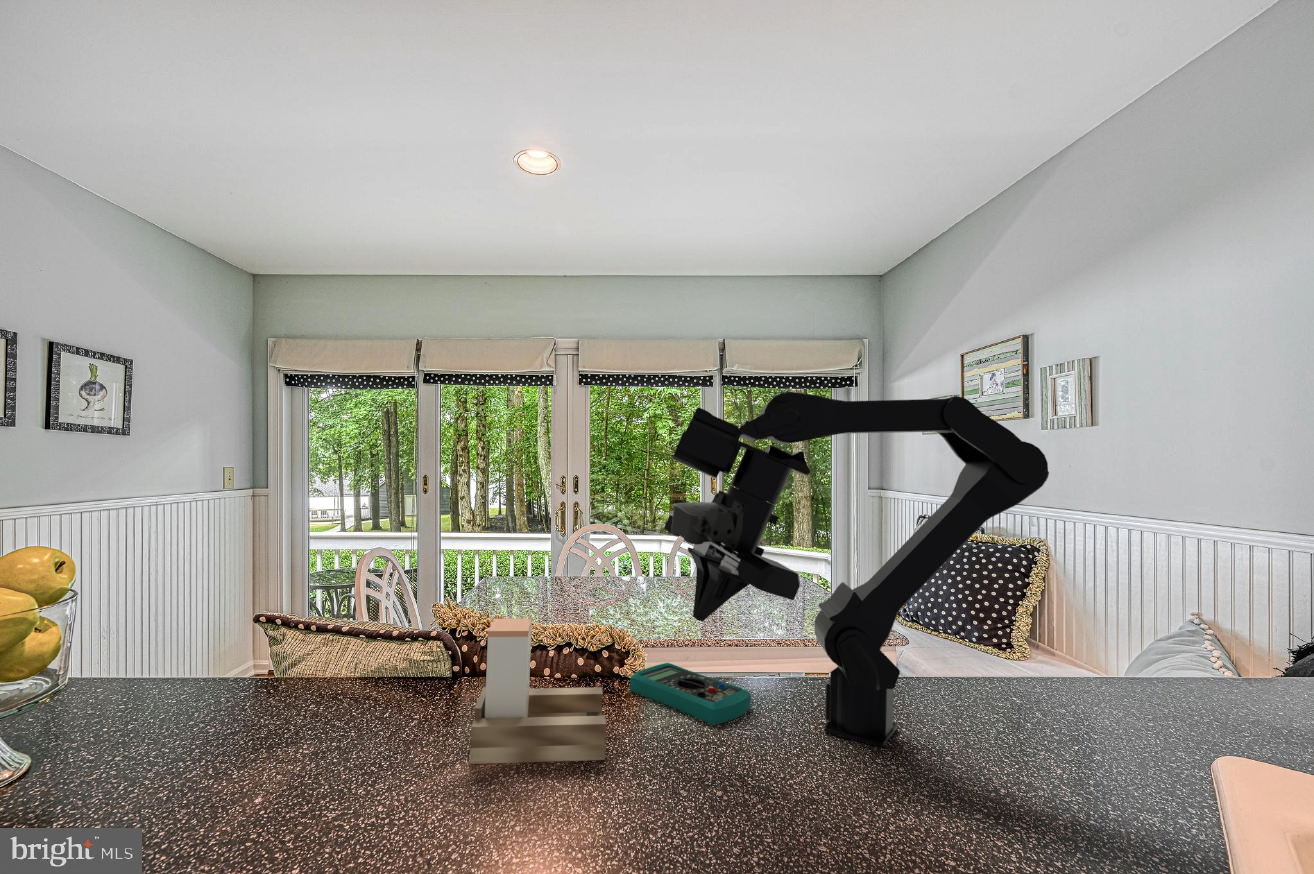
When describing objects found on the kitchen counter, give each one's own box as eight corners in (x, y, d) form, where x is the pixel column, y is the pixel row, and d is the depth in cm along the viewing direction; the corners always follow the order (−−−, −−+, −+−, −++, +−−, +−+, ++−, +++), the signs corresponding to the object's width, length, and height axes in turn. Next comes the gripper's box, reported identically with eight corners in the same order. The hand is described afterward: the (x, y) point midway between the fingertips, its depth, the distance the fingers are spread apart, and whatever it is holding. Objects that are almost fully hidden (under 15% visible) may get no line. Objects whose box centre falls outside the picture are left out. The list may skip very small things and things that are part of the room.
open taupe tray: (600, 718, 72) (602, 678, 72) (604, 759, 62) (606, 713, 62) (484, 720, 71) (486, 680, 71) (469, 764, 61) (471, 716, 61)
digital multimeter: (717, 731, 71) (718, 704, 71) (627, 693, 81) (627, 670, 81) (755, 714, 76) (756, 689, 76) (666, 680, 87) (666, 659, 87)
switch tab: (528, 712, 69) (531, 618, 69) (524, 732, 64) (528, 630, 64) (490, 713, 68) (494, 618, 69) (484, 733, 63) (488, 631, 64)
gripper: (658, 453, 76) (605, 571, 76) (758, 500, 61) (692, 649, 60) (722, 481, 82) (674, 590, 82) (828, 530, 67) (768, 665, 67)
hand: (697, 619), depth 73 cm, fingers closed
